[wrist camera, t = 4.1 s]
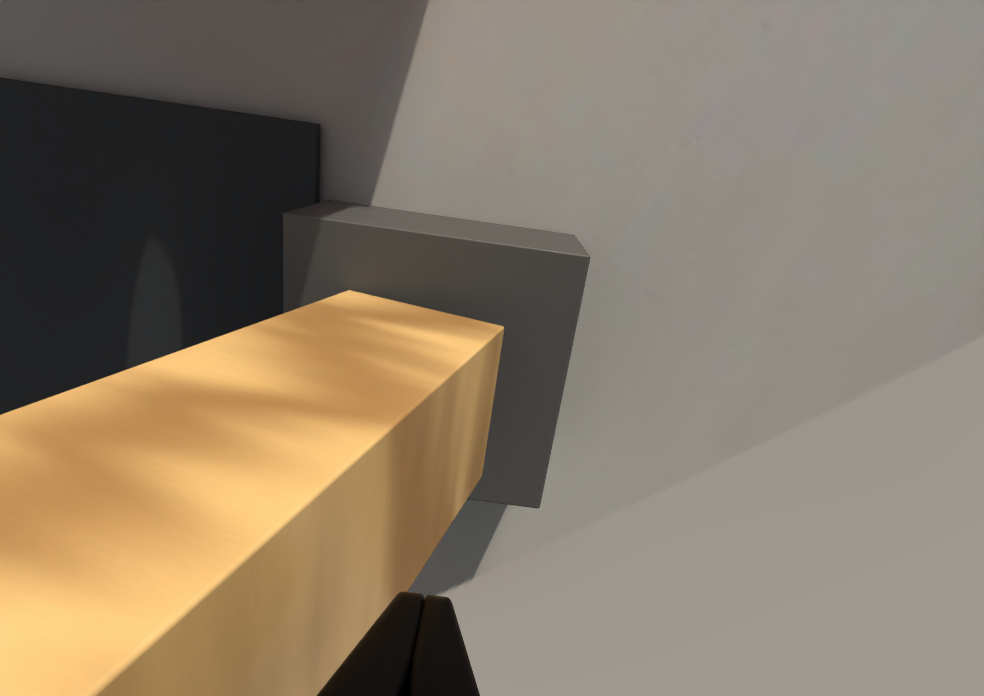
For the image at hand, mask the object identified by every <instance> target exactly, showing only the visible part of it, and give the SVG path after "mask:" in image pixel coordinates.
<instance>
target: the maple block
mask: <svg viewBox="0 0 984 696" xmlns="http://www.w3.org/2000/svg"><path fill="white" fill-rule="evenodd" d="M503 334H504V327H503V326H500V325H496V324H491V323H487V322H483V321H479V320H474V319H470V318H466V317H462V316H457V315H453V314H449V313H445V312H440V311H436V310H432V309H428V308H423V307H419V306H415V305H411V304H406V303H402V302H398V301H394V300H389V299H385V298H381V297H377V296H372V295H368V294H364V293H360V292H355V291H351V290H348V291H345V292H342V293H339V294H337V295H334V296H331V297H328V298H325V299H323V300H320V301H317V302H314V303H311V304H309V305H306V306H303V307H300V308H298V309H295V310H292V311H289V312H286V313H284V314H281V315H278V316H275V317H272V318H270V319H267V320H264V321H261V322H258V323H256V324H253V325H250V326H247V327H244V328H242V329H239V330H236V331H233V332H230V333H228V334H225V335H222V336H219V337H216V338H214V339H211V340H208V341H205V342H202V343H200V344H197V345H194V346H191V347H189V348H186V349H183V350H180V351H177V352H175V353H172V354H169V355H166V356H163V357H161V358H158V359H155V360H152V361H149V362H147V363H144V364H141V365H138V366H135V367H133V368H130V369H127V370H124V371H121V372H119V373H116V374H113V375H110V376H107V377H105V378H102V379H99V380H96V381H93V382H91V383H88V384H85V385H82V386H80V387H77V388H74V389H71V390H68V391H66V392H63V393H60V394H57V395H54V396H52V397H49V398H46V399H43V400H40V401H38V402H35V403H32V404H29V405H26V406H24V407H21V408H18V409H15V410H12V411H10V412H7V413H4V414H1V415H0V696H317V694H318V693H319V692H320V691H321V689H322V688H323V687H324V685H325V684H326V683H327V682H328V680H329V679H330V678H331V677H332V675H333V674H334V673H335V672H336V670H337V669H338V668H339V667H340V665H341V664H342V663H343V662H344V660H345V659H346V658H347V657H348V655H349V654H350V653H351V651H352V650H353V649H354V648H355V646H356V645H357V644H358V643H359V641H360V640H361V639H362V638H363V636H364V635H365V634H366V633H367V631H368V630H369V629H370V628H371V626H372V625H373V624H374V623H375V621H376V620H377V619H378V617H379V616H380V615H381V614H382V612H383V611H384V610H385V609H386V607H387V606H388V605H389V604H390V602H391V601H392V600H393V599H394V597H395V596H396V595H397V594H398V593H399V592H402V591H404V592H407V591H408V590H409V588H410V587H411V585H412V584H413V582H414V581H415V579H416V577H417V576H418V574H419V573H420V571H421V570H422V568H423V567H424V565H425V564H426V562H427V560H428V559H429V557H430V556H431V554H432V553H433V551H434V550H435V548H436V546H437V545H438V543H439V542H440V540H441V539H442V537H443V536H444V534H445V533H446V531H447V529H448V528H449V526H450V525H451V523H452V522H453V520H454V519H455V517H456V515H457V514H458V512H459V511H460V509H461V508H462V506H463V505H464V503H465V502H466V500H467V498H468V497H469V495H470V494H471V492H472V491H473V489H474V488H475V486H476V484H477V483H478V481H479V480H480V478H481V477H482V472H483V466H484V459H485V452H486V446H487V439H488V433H489V426H490V419H491V413H492V406H493V400H494V393H495V386H496V380H497V373H498V367H499V360H500V353H501V347H502V340H503Z"/></svg>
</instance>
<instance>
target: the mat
mask: <svg viewBox="0 0 984 696" xmlns="http://www.w3.org/2000/svg"><path fill="white" fill-rule="evenodd" d="M319 171H320V124H315V123H308V122H302V121H295V120H288V119H281V118H274V117H267V116H260V115H253V114H246V113H239V112H232V111H226V110H219V109H212V108H205V107H198V106H191V105H184V104H177V103H170V102H163V101H156V100H150V99H143V98H136V97H129V96H122V95H115V94H108V93H101V92H94V91H87V90H80V89H74V88H67V87H60V86H53V85H46V84H39V83H32V82H25V81H18V80H11V79H4V78H0V415H1V414H4V413H7V412H10V411H12V410H15V409H18V408H21V407H24V406H26V405H29V404H32V403H35V402H38V401H40V400H43V399H46V398H49V397H52V396H54V395H57V394H60V393H63V392H66V391H68V390H71V389H74V388H77V387H80V386H82V385H85V384H88V383H91V382H93V381H96V380H99V379H102V378H105V377H107V376H110V375H113V374H116V373H119V372H121V371H124V370H127V369H130V368H133V367H135V366H138V365H141V364H144V363H147V362H149V361H152V360H155V359H158V358H161V357H163V356H166V355H169V354H172V353H175V352H177V351H180V350H183V349H186V348H189V347H191V346H194V345H197V344H200V343H202V342H205V341H208V340H211V339H214V338H216V337H219V336H222V335H225V334H228V333H230V332H233V331H236V330H239V329H242V328H244V327H247V326H250V325H253V324H256V323H258V322H261V321H264V320H267V319H270V318H272V317H275V316H278V315H281V314H284V302H283V213H285V212H288V211H292V210H295V209H299V208H302V207H306V206H309V205H313V204H316V203H319Z"/></svg>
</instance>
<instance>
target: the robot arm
mask: <svg viewBox="0 0 984 696" xmlns="http://www.w3.org/2000/svg"><path fill="white" fill-rule="evenodd" d="M317 696H480V694H479V691H478V688H477V684H476V681H475V678H474V674H473V671H472V668H471V665H470V661H469V658H468V655H467V651H466V648H465V645H464V641H463V638H462V635H461V631H460V628H459V625H458V621H457V618H456V615H455V611H454V608H453V605H452V602H451V600H450V599H449V598H447V597H441V596H434V595H427V596H426V597H425V599H424V596H423V595H422V594H419V593H411V592H404V591H402V592H399V593H398V594H397V595H396V596H395V597H394V599H393V600H392V601H391V602H390V604H389V605H388V606H387V607H386V609H385V610H384V611H383V612H382V614H381V615H380V616H379V617H378V619H377V620H376V621H375V623H374V624H373V625H372V626H371V628H370V629H369V630H368V631H367V633H366V634H365V635H364V636H363V638H362V639H361V640H360V641H359V643H358V644H357V645H356V646H355V648H354V649H353V650H352V651H351V653H350V654H349V655H348V657H347V658H346V659H345V660H344V662H343V663H342V664H341V665H340V667H339V668H338V669H337V670H336V672H335V673H334V674H333V675H332V677H331V678H330V679H329V680H328V682H327V683H326V684H325V685H324V687H323V688H322V689H321V691H320V692H319V693H318V694H317Z"/></svg>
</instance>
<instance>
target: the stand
mask: <svg viewBox="0 0 984 696" xmlns="http://www.w3.org/2000/svg"><path fill="white" fill-rule="evenodd" d="M589 261H590V256H589V254H588V253H587V252H586V250H585V249H584V247H583V246H582V245H581V243H580V242H579V241H578V239H577V238H576V237H575V235H570V234H563V233H556V232H549V231H542V230H535V229H528V228H521V227H514V226H507V225H500V224H493V223H486V222H479V221H472V220H465V219H458V218H450V217H443V216H436V215H429V214H422V213H415V212H408V211H401V210H394V209H387V208H380V207H373V206H366V205H359V204H352V203H345V202H338V201H331V200H327V201H323V202H320V203H316V204H313V205H309V206H306V207H302V208H299V209H295V210H292V211H288V212H285V213H283V302H284V313H286V312H289V311H292V310H295V309H298V308H300V307H303V306H306V305H309V304H311V303H314V302H317V301H320V300H323V299H325V298H328V297H331V296H334V295H337V294H339V293H342V292H345V291H348V290H351V291H355V292H360V293H364V294H368V295H372V296H377V297H381V298H385V299H389V300H394V301H398V302H402V303H406V304H411V305H415V306H419V307H423V308H428V309H432V310H436V311H440V312H445V313H449V314H453V315H457V316H462V317H466V318H470V319H474V320H479V321H483V322H487V323H491V324H496V325H500V326H503V327H504V334H503V340H502V347H501V353H500V360H499V367H498V373H497V380H496V386H495V393H494V400H493V406H492V413H491V419H490V426H489V433H488V439H487V446H486V452H485V459H484V466H483V472H482V477H481V478H480V480H479V481H478V483H477V484H476V486H475V488H474V489H473V491H472V492H471V494H470V495H469V497H468V498H467V499H471V500H479V501H486V502H494V503H501V504H509V505H516V506H524V507H531V508H539V507H540V503H541V498H542V493H543V488H544V484H545V479H546V474H547V469H548V464H549V459H550V454H551V449H552V444H553V439H554V434H555V429H556V424H557V419H558V414H559V410H560V405H561V400H562V395H563V390H564V385H565V380H566V375H567V370H568V365H569V360H570V355H571V350H572V345H573V340H574V335H575V331H576V326H577V321H578V316H579V311H580V306H581V301H582V296H583V291H584V286H585V281H586V276H587V271H588V266H589Z"/></svg>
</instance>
